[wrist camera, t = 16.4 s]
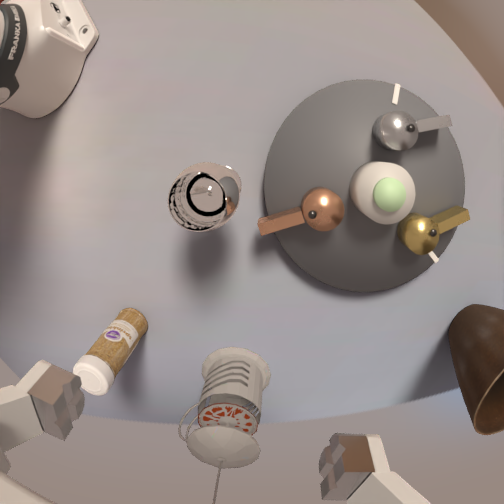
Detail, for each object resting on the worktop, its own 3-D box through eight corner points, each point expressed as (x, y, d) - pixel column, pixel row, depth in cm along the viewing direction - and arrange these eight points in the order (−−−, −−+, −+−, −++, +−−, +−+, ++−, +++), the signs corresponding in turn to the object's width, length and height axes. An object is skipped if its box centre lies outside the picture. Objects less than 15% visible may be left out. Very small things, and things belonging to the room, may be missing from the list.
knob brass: (402, 252, 34) (413, 261, 31) (393, 220, 33) (403, 227, 30) (460, 224, 32) (474, 231, 29) (452, 193, 31) (467, 198, 28)
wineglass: (245, 212, 36) (232, 242, 24) (195, 208, 36) (160, 236, 25) (249, 161, 34) (237, 166, 23) (197, 158, 34) (162, 162, 23)
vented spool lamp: (281, 387, 43) (281, 546, 19) (212, 407, 45) (180, 549, 22) (251, 337, 41) (230, 512, 17) (178, 362, 43) (118, 512, 19)
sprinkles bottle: (145, 307, 41) (101, 367, 28) (150, 336, 42) (112, 400, 29) (115, 306, 41) (66, 361, 28) (122, 334, 42) (79, 393, 29)
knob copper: (332, 182, 32) (338, 185, 29) (342, 218, 33) (349, 225, 30) (254, 205, 33) (252, 211, 30) (266, 241, 34) (265, 250, 31)
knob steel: (378, 153, 31) (389, 154, 28) (368, 117, 30) (377, 114, 27) (443, 138, 29) (457, 138, 26) (434, 104, 28) (447, 101, 25)
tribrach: (233, 115, 33) (224, 106, 26) (428, 69, 29) (455, 57, 22) (297, 308, 39) (301, 338, 33) (466, 253, 35) (494, 271, 29)
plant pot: (516, 303, 37) (574, 354, 22) (464, 375, 42) (505, 440, 26) (468, 262, 36) (540, 316, 21) (408, 349, 40) (451, 428, 25)
